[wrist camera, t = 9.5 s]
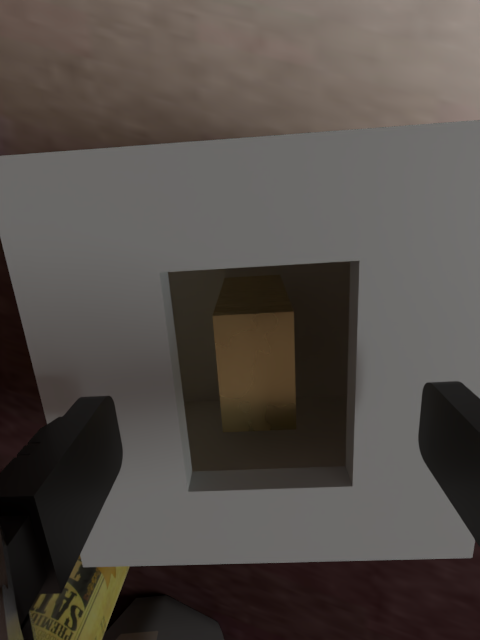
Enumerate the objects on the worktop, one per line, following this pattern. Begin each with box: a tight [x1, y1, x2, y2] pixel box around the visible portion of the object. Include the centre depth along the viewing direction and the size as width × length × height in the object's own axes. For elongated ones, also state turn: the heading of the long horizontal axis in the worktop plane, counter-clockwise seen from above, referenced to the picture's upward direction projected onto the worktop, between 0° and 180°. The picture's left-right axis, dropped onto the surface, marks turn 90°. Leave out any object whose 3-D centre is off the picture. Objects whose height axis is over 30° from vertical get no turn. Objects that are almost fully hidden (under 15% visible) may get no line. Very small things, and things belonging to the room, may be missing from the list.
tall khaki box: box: [212, 275, 296, 432], centre depth 18 cm, size 5×3×7 cm, turn 4°
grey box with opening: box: [0, 120, 480, 567], centre depth 17 cm, size 14×14×11 cm
